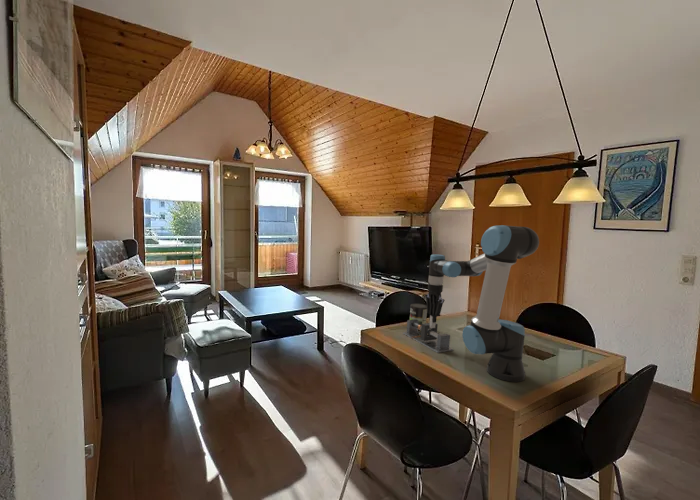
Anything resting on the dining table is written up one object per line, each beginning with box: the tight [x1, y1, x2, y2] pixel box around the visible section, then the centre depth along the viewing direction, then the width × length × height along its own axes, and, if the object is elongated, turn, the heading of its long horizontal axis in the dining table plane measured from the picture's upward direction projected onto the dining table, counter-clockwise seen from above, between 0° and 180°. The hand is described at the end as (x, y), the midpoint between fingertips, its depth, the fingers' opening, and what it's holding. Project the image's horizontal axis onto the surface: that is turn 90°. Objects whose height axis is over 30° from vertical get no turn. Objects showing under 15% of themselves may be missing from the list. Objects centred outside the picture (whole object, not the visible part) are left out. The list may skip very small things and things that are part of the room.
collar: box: [420, 322, 439, 341], centre depth 180 cm, size 3×8×8 cm, turn 116°
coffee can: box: [409, 303, 428, 332], centre depth 205 cm, size 10×10×14 cm
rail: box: [402, 319, 454, 354], centre depth 182 cm, size 30×10×8 cm, turn 26°
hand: (432, 327), depth 178 cm, fingers closed
